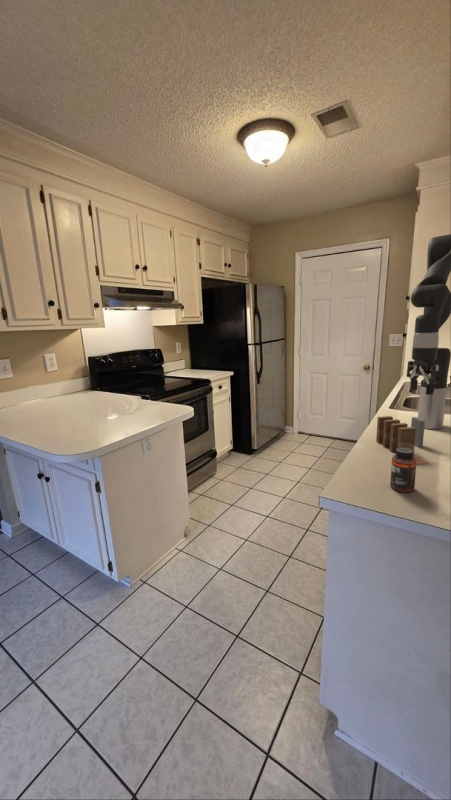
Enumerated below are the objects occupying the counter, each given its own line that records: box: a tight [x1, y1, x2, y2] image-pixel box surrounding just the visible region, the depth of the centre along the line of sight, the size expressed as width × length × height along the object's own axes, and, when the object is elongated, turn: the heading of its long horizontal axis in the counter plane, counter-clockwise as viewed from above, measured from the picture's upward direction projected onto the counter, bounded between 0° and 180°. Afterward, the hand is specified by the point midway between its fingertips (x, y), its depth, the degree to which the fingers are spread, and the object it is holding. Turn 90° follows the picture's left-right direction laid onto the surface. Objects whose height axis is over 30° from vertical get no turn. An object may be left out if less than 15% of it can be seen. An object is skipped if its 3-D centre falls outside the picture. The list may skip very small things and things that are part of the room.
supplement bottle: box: [389, 448, 417, 493], centre depth 90 cm, size 6×6×11 cm
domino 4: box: [397, 426, 416, 457], centre depth 110 cm, size 2×5×10 cm, turn 94°
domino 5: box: [410, 416, 425, 448], centre depth 119 cm, size 2×5×10 cm, turn 4°
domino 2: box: [382, 418, 401, 449], centre depth 119 cm, size 2×5×10 cm, turn 94°
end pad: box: [413, 456, 428, 465], centre depth 107 cm, size 5×6×1 cm
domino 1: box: [376, 415, 394, 444], centre depth 124 cm, size 2×5×10 cm, turn 94°
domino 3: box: [388, 422, 409, 453], centre depth 115 cm, size 2×5×10 cm, turn 94°
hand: (421, 392), depth 116 cm, fingers open, 8 cm apart
